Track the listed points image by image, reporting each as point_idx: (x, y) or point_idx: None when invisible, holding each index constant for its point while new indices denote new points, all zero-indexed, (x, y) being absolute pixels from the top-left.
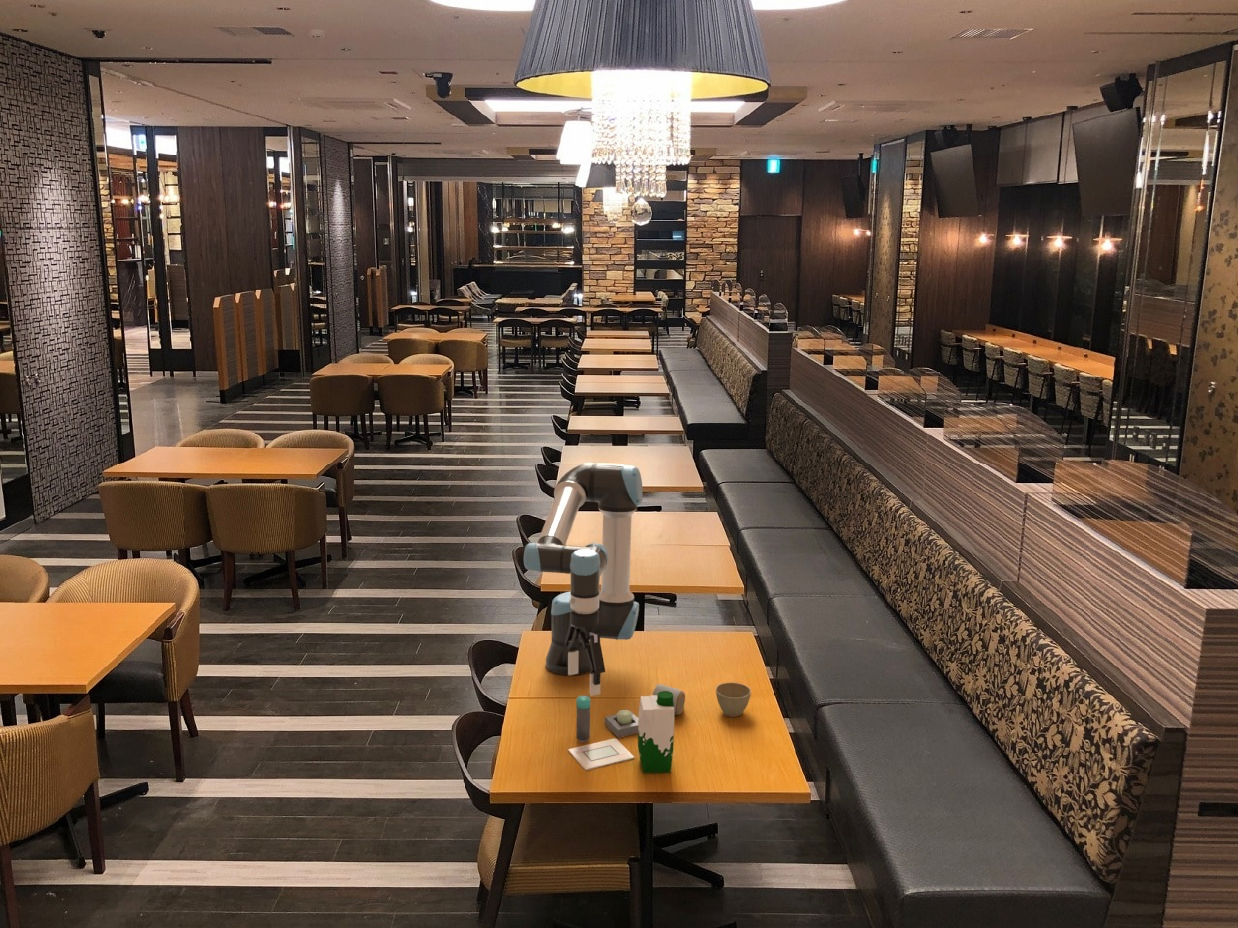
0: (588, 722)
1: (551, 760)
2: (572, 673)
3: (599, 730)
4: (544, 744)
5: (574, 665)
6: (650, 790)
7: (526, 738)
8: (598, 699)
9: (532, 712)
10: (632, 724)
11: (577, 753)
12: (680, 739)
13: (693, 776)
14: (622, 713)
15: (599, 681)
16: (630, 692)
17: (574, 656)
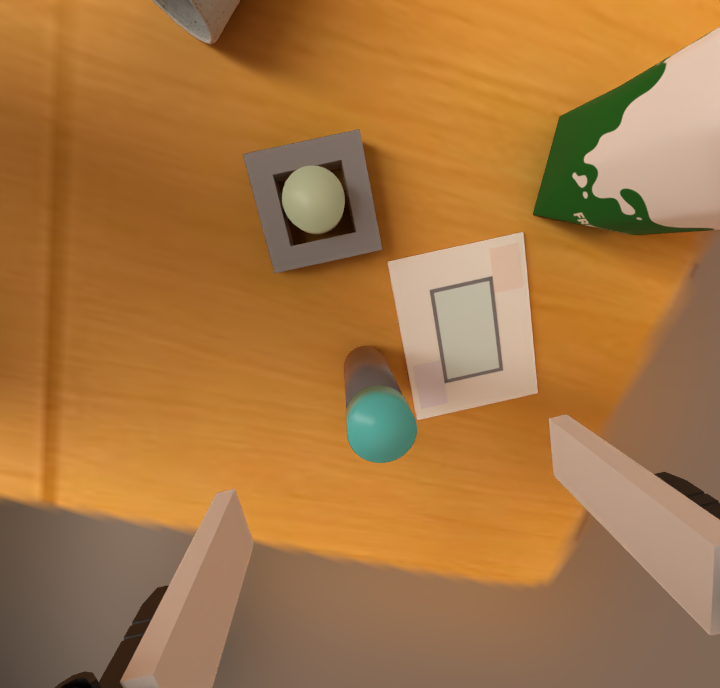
0: (390, 372)
1: (455, 467)
2: (245, 531)
3: (315, 299)
4: (364, 473)
5: (224, 566)
6: (701, 236)
7: (319, 513)
8: (73, 246)
9: (159, 479)
10: (355, 181)
11: (448, 398)
12: (448, 7)
13: None
14: (313, 209)
15: (698, 494)
16: (9, 89)
17: (193, 650)
